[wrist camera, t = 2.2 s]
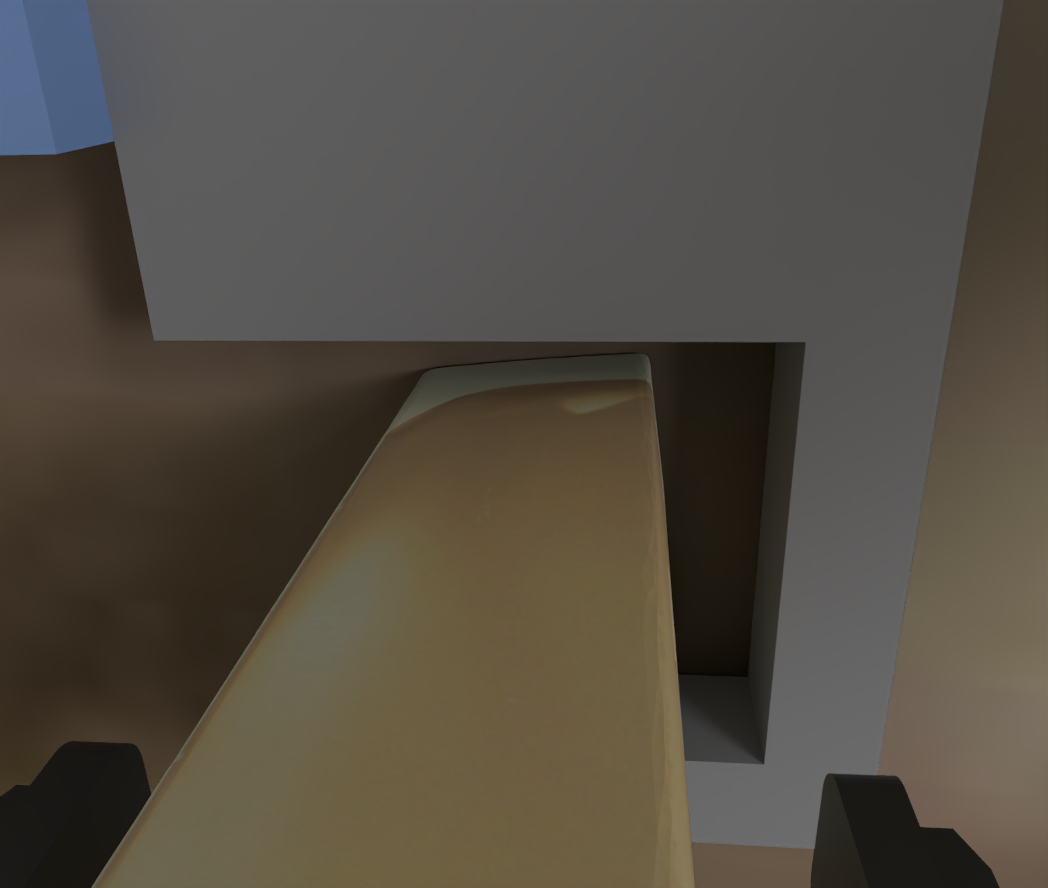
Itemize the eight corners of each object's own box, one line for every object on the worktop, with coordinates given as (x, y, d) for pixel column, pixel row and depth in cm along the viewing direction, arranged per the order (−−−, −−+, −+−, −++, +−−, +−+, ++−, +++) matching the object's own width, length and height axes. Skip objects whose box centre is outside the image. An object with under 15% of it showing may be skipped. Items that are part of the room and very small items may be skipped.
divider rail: (1099, -1126, 10) (1387, -1828, 6) (837, 757, 20) (885, 921, 16) (-113, -945, 11) (-479, -1429, 7) (225, 728, 21) (142, 874, 17)
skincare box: (674, 632, 19) (746, 1494, 8) (465, 642, 20) (255, 1455, 8) (651, 329, 16) (712, 969, 5) (412, 351, 17) (12, 966, 6)
